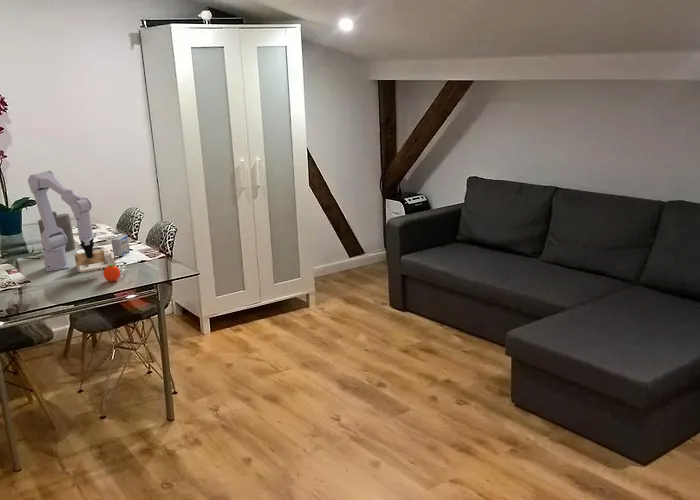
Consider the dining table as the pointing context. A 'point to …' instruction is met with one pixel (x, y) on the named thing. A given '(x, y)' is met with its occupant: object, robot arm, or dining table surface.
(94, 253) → the wooden block
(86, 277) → the dining table surface
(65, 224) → the flask
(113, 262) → the peg frame
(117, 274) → the clementine
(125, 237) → the medicine box
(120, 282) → the dining table surface
